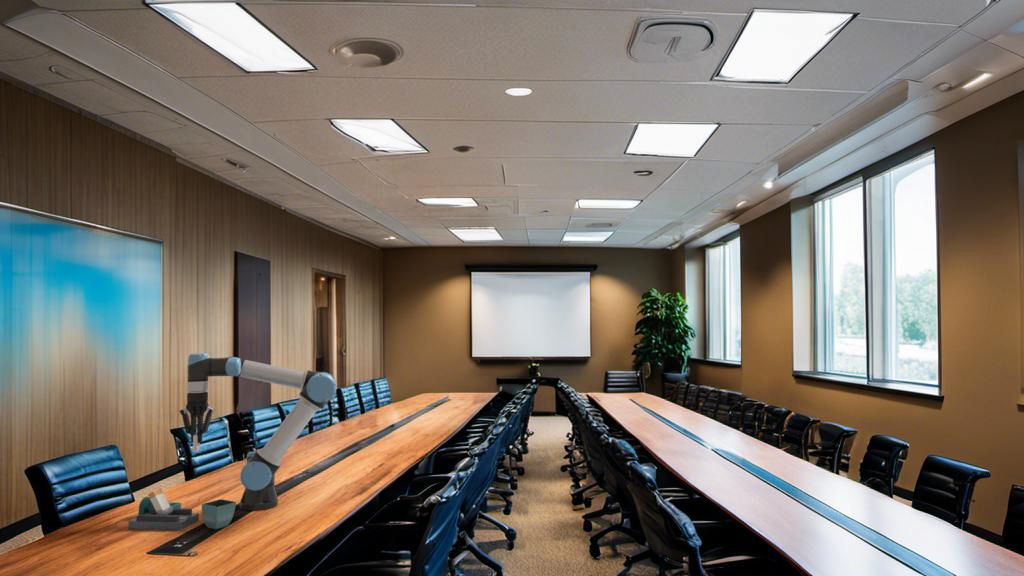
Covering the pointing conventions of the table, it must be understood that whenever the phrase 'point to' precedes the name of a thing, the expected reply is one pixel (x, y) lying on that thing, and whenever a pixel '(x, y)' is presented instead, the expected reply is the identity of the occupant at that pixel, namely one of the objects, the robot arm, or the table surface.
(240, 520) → the table surface
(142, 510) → the bracket
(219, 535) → the table surface
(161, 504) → the breaker lever
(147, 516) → the dark grey rectangular piece
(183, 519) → the breaker panel
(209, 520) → the flower pot
